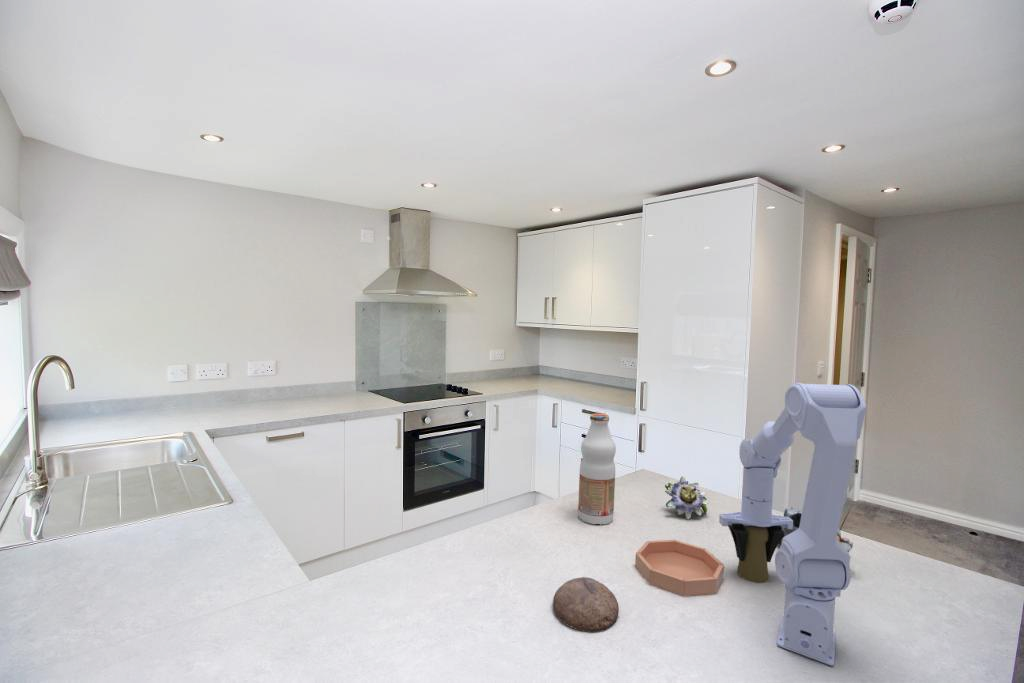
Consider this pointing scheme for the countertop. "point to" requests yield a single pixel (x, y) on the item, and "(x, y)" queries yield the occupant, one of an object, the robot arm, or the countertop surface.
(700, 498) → the passion flower
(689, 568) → the octagonal tray
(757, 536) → the olive knobbed peg
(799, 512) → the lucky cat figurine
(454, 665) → the countertop surface
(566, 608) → the decorative stone
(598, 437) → the fruit juice
